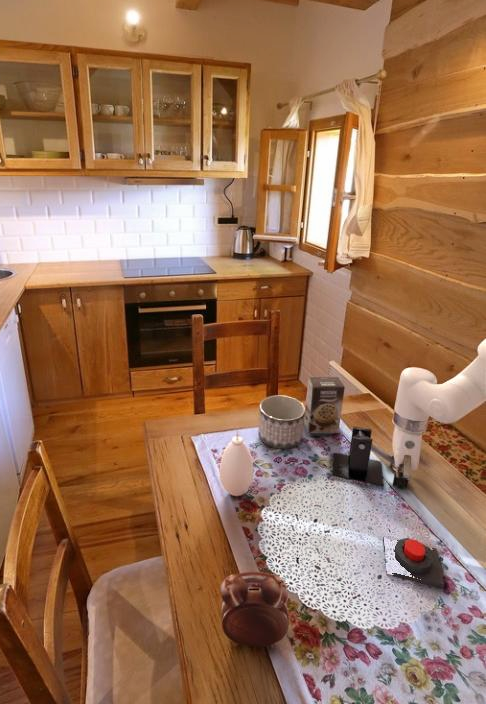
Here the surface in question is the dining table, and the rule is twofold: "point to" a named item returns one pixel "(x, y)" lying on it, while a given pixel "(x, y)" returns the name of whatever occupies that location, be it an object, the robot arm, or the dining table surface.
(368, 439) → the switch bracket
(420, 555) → the red button
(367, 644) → the dining table surface
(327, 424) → the cookie box
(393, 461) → the switch lever
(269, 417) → the planter
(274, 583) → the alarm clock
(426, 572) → the button box
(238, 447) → the pale pink tall ovoid
